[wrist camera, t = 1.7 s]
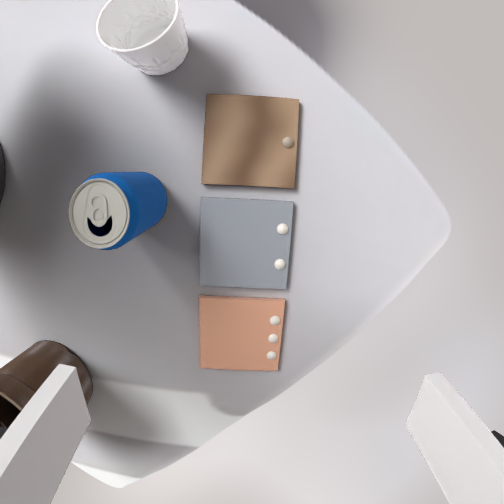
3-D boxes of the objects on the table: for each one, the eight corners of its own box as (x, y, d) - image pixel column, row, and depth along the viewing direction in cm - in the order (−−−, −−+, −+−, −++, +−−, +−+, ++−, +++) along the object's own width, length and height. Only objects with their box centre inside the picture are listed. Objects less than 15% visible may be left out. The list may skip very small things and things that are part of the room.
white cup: (119, 47, 30) (85, 15, 20) (175, 12, 29) (156, -30, 19) (146, 93, 31) (115, 68, 22) (206, 57, 31) (194, 19, 21)
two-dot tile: (200, 283, 37) (199, 286, 36) (201, 197, 35) (200, 197, 34) (285, 286, 37) (286, 289, 36) (292, 201, 35) (293, 202, 34)
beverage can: (117, 229, 35) (68, 254, 23) (114, 174, 34) (62, 177, 22) (170, 227, 35) (137, 253, 24) (167, 170, 34) (132, 169, 22)
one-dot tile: (202, 183, 34) (201, 183, 33) (207, 95, 32) (206, 93, 31) (293, 188, 35) (294, 188, 34) (298, 101, 32) (299, 99, 31)
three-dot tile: (201, 364, 40) (200, 368, 39) (200, 295, 37) (199, 298, 36) (276, 367, 40) (277, 371, 39) (284, 298, 38) (285, 301, 37)
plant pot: (5, 333, 38) (-52, 384, 23) (72, 316, 38) (8, 381, 22) (52, 412, 42) (13, 472, 27) (122, 407, 42) (89, 484, 26)
